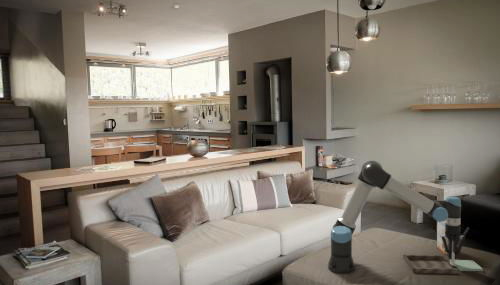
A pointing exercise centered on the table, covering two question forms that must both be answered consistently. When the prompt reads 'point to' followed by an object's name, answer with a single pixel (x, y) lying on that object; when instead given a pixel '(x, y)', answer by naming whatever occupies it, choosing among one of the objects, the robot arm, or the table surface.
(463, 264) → the cover plate
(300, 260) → the table surface
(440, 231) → the cracker box
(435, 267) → the slide box
